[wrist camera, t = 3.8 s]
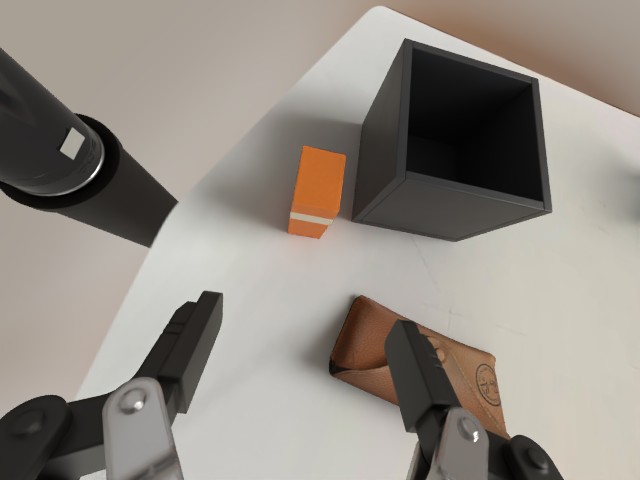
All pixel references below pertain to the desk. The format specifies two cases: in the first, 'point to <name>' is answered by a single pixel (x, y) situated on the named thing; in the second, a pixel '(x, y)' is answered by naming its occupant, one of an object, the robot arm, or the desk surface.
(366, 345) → the sunglasses case
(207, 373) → the desk surface
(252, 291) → the desk surface
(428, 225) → the dark grey storage bin
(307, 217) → the block
